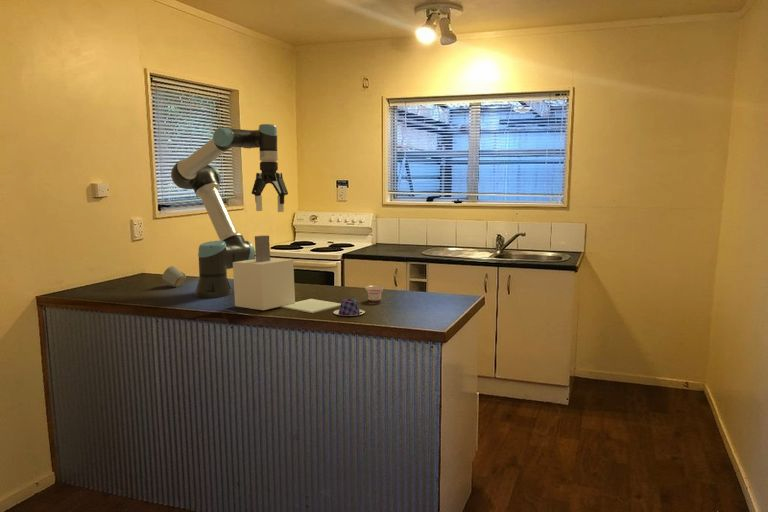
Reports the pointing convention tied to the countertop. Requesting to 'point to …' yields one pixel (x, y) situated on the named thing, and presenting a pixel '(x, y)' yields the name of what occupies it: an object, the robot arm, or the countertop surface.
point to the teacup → (374, 293)
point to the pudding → (349, 308)
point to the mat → (311, 305)
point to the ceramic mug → (174, 276)
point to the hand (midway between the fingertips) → (269, 211)
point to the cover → (263, 279)
